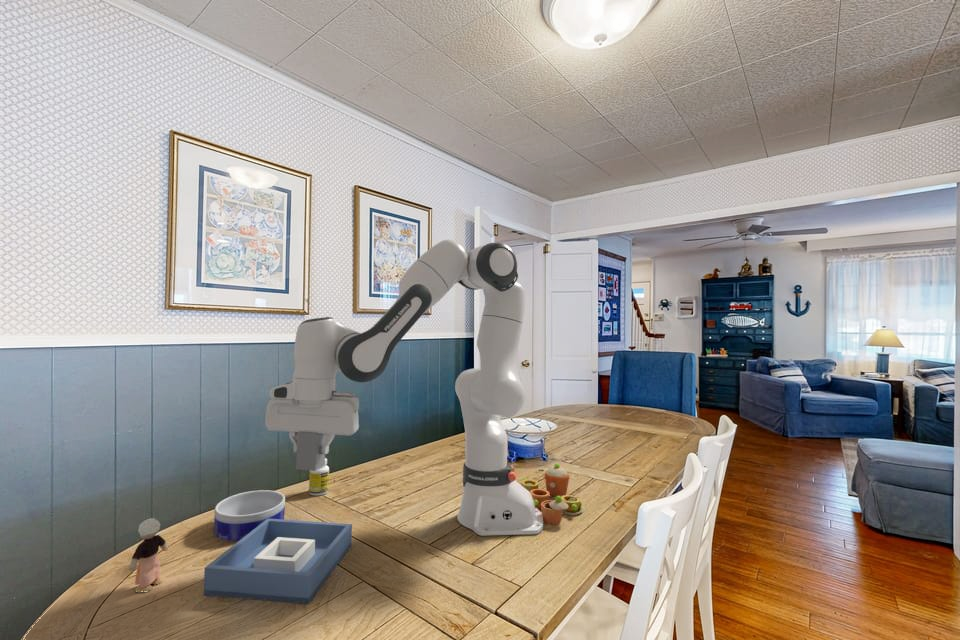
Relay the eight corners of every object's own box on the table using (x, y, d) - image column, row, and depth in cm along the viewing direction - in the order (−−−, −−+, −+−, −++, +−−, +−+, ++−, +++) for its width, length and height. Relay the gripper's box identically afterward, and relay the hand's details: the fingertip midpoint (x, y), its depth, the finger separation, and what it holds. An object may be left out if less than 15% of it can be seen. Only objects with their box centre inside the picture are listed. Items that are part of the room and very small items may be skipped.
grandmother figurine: (149, 575, 83) (152, 510, 83) (170, 575, 84) (172, 510, 84) (120, 601, 76) (122, 529, 76) (142, 600, 76) (145, 529, 76)
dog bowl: (250, 547, 95) (251, 520, 95) (197, 535, 99) (198, 509, 99) (297, 518, 110) (298, 494, 110) (250, 509, 114) (251, 486, 114)
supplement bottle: (321, 497, 123) (322, 463, 123) (305, 495, 124) (306, 461, 124) (332, 490, 128) (333, 457, 128) (315, 488, 129) (316, 455, 129)
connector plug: (324, 464, 96) (326, 424, 96) (315, 470, 91) (317, 428, 92) (305, 462, 96) (307, 423, 96) (295, 469, 92) (297, 427, 92)
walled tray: (351, 546, 96) (351, 524, 96) (308, 603, 76) (309, 575, 76) (267, 540, 98) (267, 518, 98) (203, 595, 78) (204, 567, 78)
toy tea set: (513, 489, 133) (514, 458, 133) (560, 487, 136) (561, 457, 136) (541, 529, 107) (542, 491, 107) (598, 525, 110) (599, 488, 110)
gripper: (364, 390, 96) (361, 451, 96) (278, 385, 98) (275, 445, 98) (353, 394, 90) (351, 460, 90) (262, 389, 92) (259, 453, 92)
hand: (311, 452), depth 94 cm, fingers closed on connector plug, 4 cm apart
